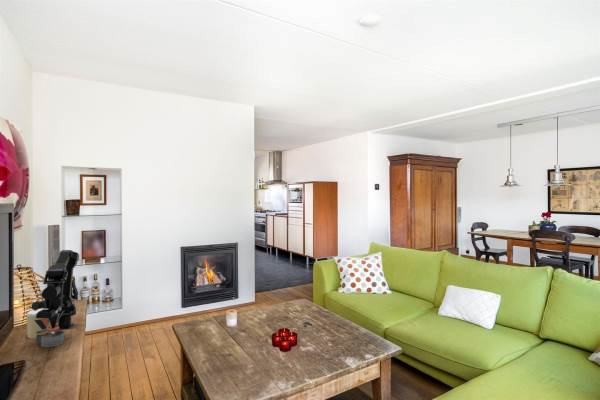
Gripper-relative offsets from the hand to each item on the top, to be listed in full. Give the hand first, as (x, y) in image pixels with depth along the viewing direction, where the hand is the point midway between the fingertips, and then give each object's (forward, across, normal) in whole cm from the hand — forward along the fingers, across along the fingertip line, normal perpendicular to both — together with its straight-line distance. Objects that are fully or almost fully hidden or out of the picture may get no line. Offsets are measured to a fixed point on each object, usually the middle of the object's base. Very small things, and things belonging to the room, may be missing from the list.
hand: (53, 327), depth 154 cm
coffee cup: (+8, -11, -12) cm, 18 cm away
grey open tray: (+8, 0, -1) cm, 8 cm away
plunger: (+5, 0, 0) cm, 5 cm away
